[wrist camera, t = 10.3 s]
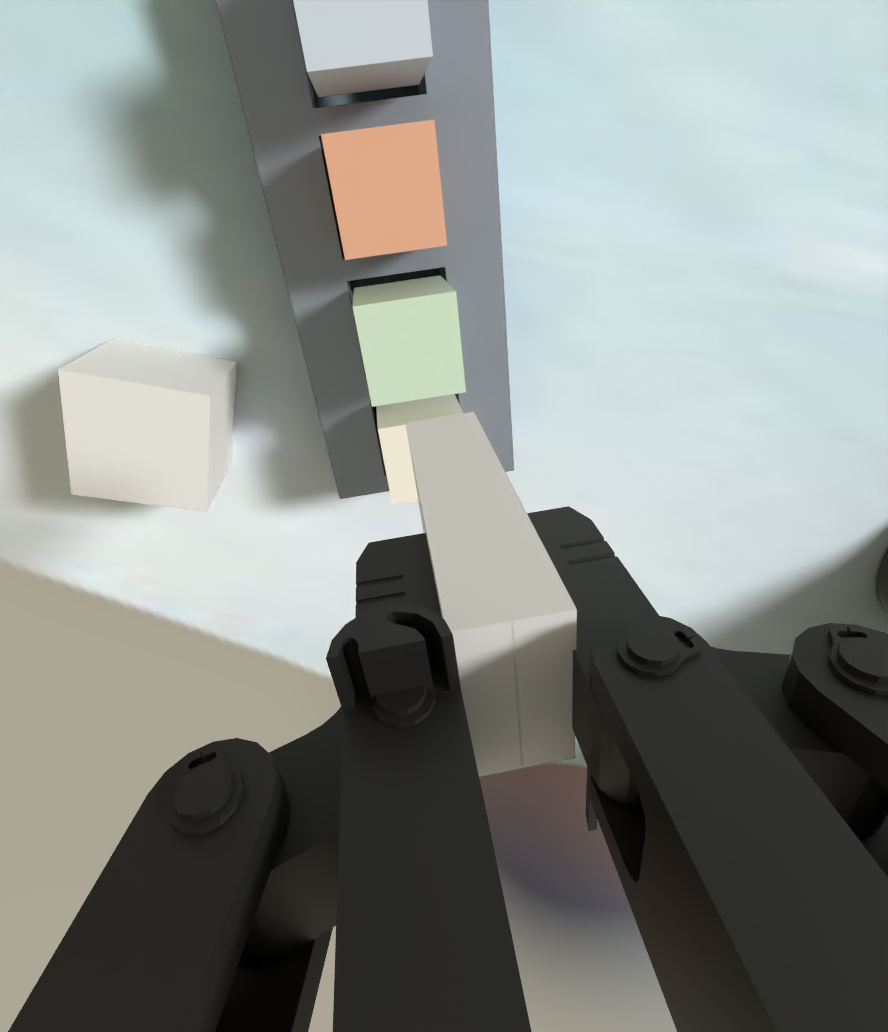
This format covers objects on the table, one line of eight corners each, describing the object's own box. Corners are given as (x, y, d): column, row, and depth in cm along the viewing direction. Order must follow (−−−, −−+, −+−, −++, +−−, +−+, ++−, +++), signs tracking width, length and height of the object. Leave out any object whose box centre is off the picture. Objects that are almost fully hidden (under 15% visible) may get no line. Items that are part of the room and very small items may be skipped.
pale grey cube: (120, 444, 30) (70, 494, 25) (114, 337, 28) (56, 369, 22) (232, 461, 32) (207, 512, 27) (237, 361, 29) (210, 395, 24)
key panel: (502, 449, 33) (514, 470, 31) (341, 475, 33) (340, 498, 30) (467, -77, 22) (482, -114, 19) (215, -49, 21) (195, -82, 18)
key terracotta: (433, 237, 25) (447, 245, 21) (348, 249, 25) (345, 260, 21) (421, 133, 23) (434, 119, 19) (328, 146, 23) (320, 134, 19)
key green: (449, 361, 27) (466, 391, 23) (370, 373, 27) (371, 406, 23) (440, 275, 25) (456, 291, 21) (354, 287, 25) (352, 306, 21)
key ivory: (457, 451, 31) (472, 491, 27) (388, 462, 31) (392, 504, 27) (449, 383, 29) (464, 415, 25) (375, 394, 29) (377, 428, 24)
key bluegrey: (419, 84, 21) (432, 56, 17) (318, 97, 21) (307, 71, 17) (403, -57, 19) (414, -129, 15) (291, -44, 19) (271, -114, 15)
